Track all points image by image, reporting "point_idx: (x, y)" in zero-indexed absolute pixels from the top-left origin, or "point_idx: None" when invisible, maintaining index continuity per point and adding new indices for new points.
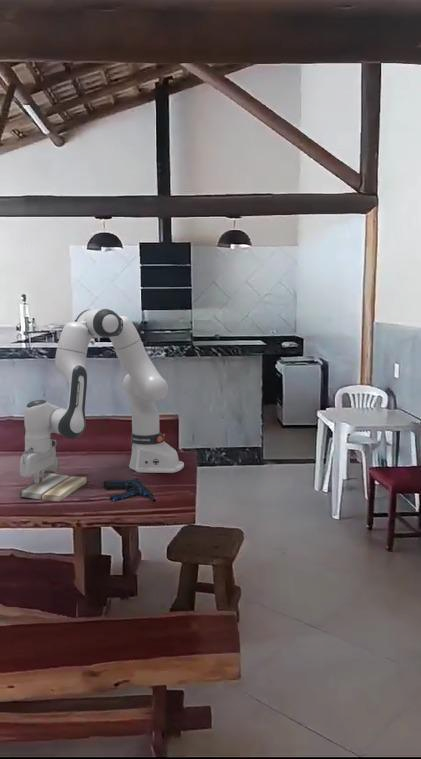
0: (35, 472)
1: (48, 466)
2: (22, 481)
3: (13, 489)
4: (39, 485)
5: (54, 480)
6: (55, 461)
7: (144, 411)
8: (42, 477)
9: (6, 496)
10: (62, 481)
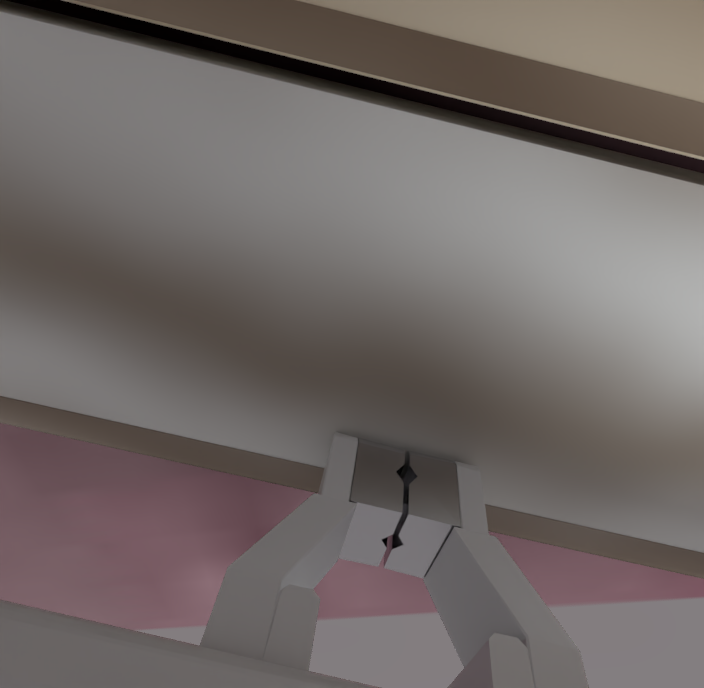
0: None
1: (6, 612)
2: (141, 550)
3: (397, 580)
4: (566, 429)
5: (206, 234)
6: None
7: None
8: (331, 482)
9: (625, 601)
10: (216, 3)
